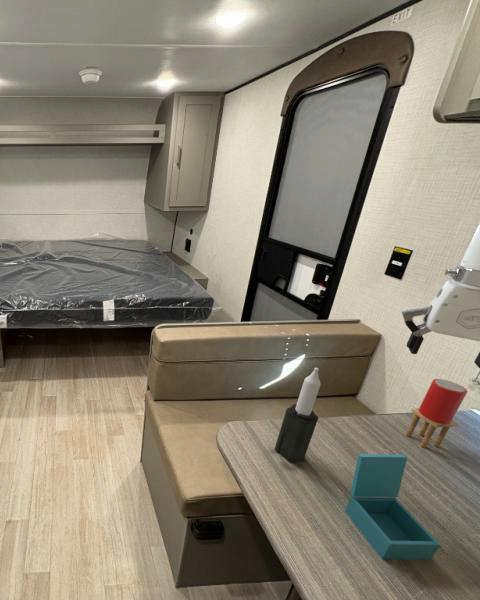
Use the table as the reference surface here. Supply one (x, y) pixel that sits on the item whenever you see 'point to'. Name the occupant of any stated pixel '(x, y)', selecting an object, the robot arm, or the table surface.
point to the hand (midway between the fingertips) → (444, 358)
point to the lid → (378, 475)
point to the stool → (431, 428)
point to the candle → (299, 422)
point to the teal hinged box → (391, 528)
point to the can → (442, 401)
